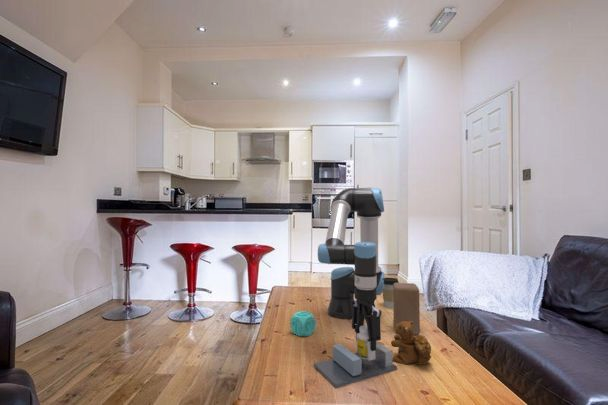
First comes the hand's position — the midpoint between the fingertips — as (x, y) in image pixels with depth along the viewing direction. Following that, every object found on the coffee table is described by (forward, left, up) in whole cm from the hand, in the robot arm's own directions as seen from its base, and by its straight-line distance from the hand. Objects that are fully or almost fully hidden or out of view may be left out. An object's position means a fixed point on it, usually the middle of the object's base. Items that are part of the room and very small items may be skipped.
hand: (365, 355), depth 103 cm
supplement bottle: (0, 0, -1) cm, 1 cm away
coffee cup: (-45, +52, -4) cm, 68 cm away
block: (-16, +35, -4) cm, 38 cm away
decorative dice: (-34, -7, -4) cm, 35 cm away
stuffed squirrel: (+5, +17, -4) cm, 18 cm away
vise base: (0, -4, -3) cm, 6 cm away
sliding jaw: (0, -8, -2) cm, 8 cm away
